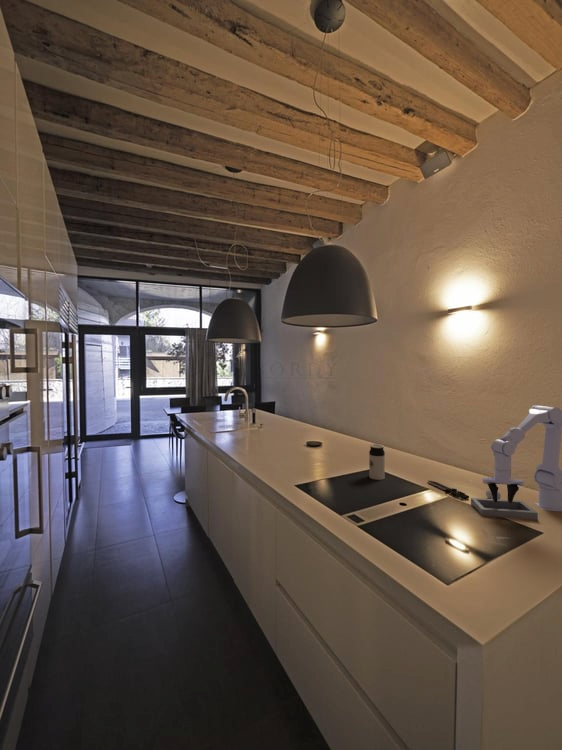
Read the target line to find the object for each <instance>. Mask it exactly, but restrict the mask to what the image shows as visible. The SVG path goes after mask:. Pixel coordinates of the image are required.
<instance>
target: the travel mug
mask: <svg viewBox="0 0 562 750" xmlns="http://www.w3.org/2000/svg"><path fill="white" fill-rule="evenodd" d="M369 447H370V449H369V451H368V453H369V455H368V457H369V459H368V461H369V462H368V463H369V464H368V467H369V469H368V470H369V471H368V472H369V478H370V479H372V480H377V481H382V480H384V479H385V478H386V477H385V474H386V470H385V466H386V465H385V463H386V461H385V460H386V458H385V455H386V454H385V453H386V452H385V450H384V448H385V445H384V444H380V443H373V444H370V445H369Z"/></svg>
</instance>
